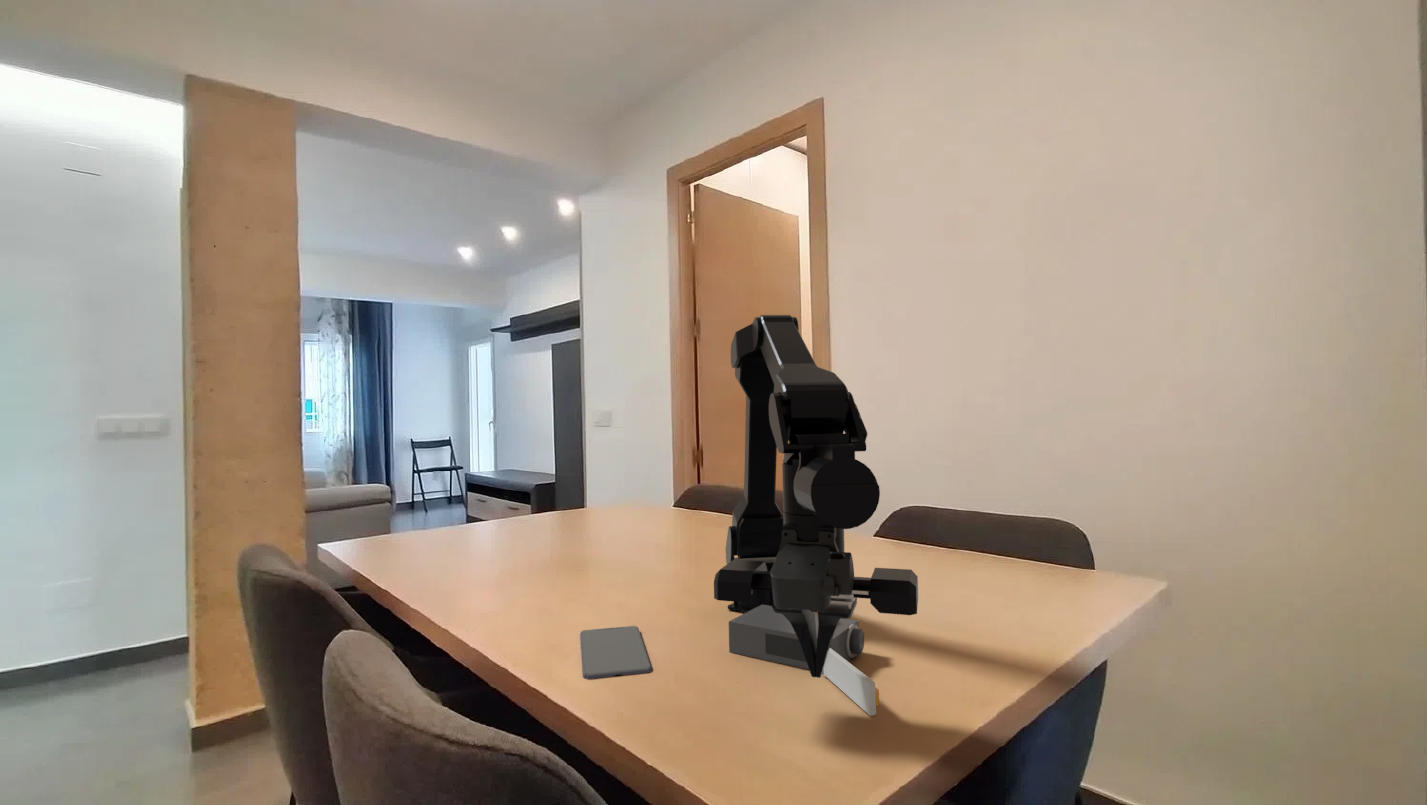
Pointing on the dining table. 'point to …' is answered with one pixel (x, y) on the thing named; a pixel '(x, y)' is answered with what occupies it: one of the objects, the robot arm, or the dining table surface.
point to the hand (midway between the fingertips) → (816, 676)
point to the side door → (852, 682)
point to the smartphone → (613, 652)
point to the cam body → (786, 637)
